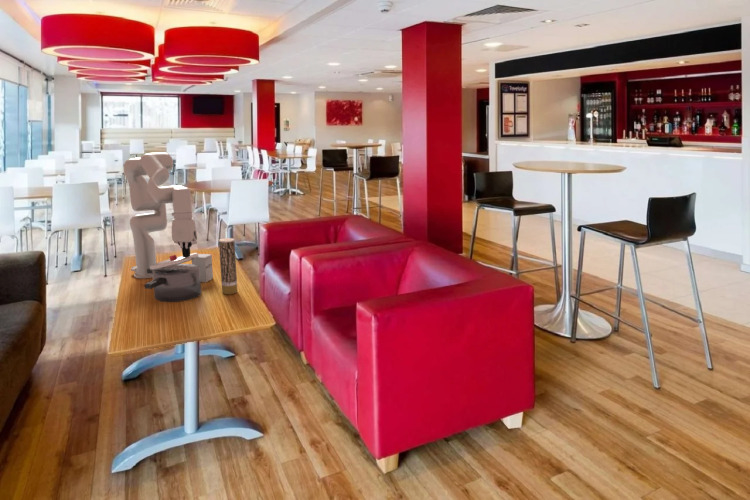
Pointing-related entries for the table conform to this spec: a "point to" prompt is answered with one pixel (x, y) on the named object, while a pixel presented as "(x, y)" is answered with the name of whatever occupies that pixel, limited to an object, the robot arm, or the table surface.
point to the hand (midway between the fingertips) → (186, 256)
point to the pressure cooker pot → (175, 283)
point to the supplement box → (204, 266)
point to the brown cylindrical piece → (228, 265)
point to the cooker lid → (173, 261)
